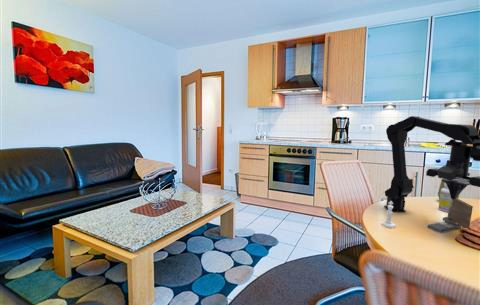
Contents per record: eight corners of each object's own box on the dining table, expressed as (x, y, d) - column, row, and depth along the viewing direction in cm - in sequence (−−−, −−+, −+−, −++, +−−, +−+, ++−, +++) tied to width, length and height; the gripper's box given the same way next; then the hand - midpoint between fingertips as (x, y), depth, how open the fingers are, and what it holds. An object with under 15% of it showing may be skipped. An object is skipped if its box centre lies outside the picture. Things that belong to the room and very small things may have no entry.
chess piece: (378, 222, 101) (380, 199, 99) (389, 222, 101) (392, 199, 100) (386, 228, 96) (389, 203, 94) (398, 228, 96) (401, 203, 95)
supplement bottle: (449, 208, 120) (453, 182, 118) (460, 213, 114) (464, 186, 112) (434, 207, 121) (438, 181, 119) (444, 212, 114) (448, 185, 112)
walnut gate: (463, 228, 94) (467, 205, 92) (446, 216, 105) (449, 195, 104) (470, 229, 93) (474, 205, 92) (452, 217, 105) (455, 196, 103)
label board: (419, 224, 100) (420, 221, 100) (447, 219, 107) (448, 216, 106) (440, 232, 93) (440, 229, 93) (469, 226, 100) (469, 223, 99)
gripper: (419, 155, 99) (414, 193, 101) (477, 164, 81) (470, 210, 84) (437, 154, 103) (432, 191, 105) (497, 163, 85) (489, 206, 88)
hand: (453, 199), depth 95 cm, fingers closed
